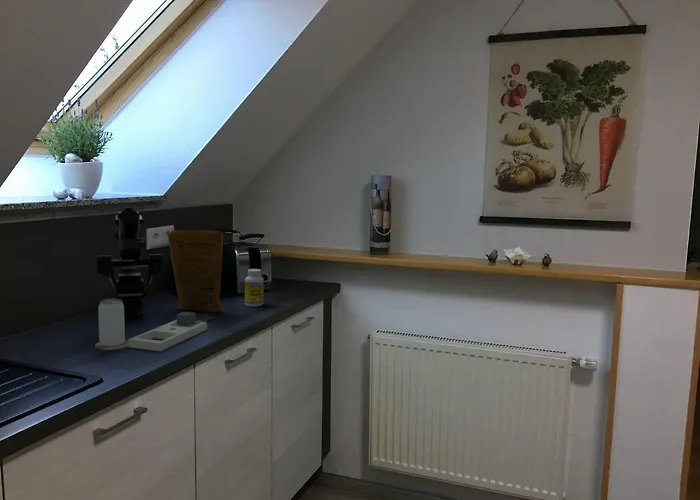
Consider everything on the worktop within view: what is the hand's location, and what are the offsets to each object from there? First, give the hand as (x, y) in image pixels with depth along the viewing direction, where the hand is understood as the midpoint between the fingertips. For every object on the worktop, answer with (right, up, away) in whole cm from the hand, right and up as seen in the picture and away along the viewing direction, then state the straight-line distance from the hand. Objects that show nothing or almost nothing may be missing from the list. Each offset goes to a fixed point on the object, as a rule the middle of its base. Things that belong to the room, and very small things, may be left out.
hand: (131, 286), depth 177 cm
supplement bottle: (+30, -9, +41) cm, 51 cm away
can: (-1, -15, -12) cm, 19 cm away
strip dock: (+12, -15, -3) cm, 19 cm away
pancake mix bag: (+12, -10, +31) cm, 34 cm away
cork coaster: (-1, -15, -12) cm, 19 cm away
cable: (+18, -12, +14) cm, 26 cm away
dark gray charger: (+15, -11, +4) cm, 19 cm away
